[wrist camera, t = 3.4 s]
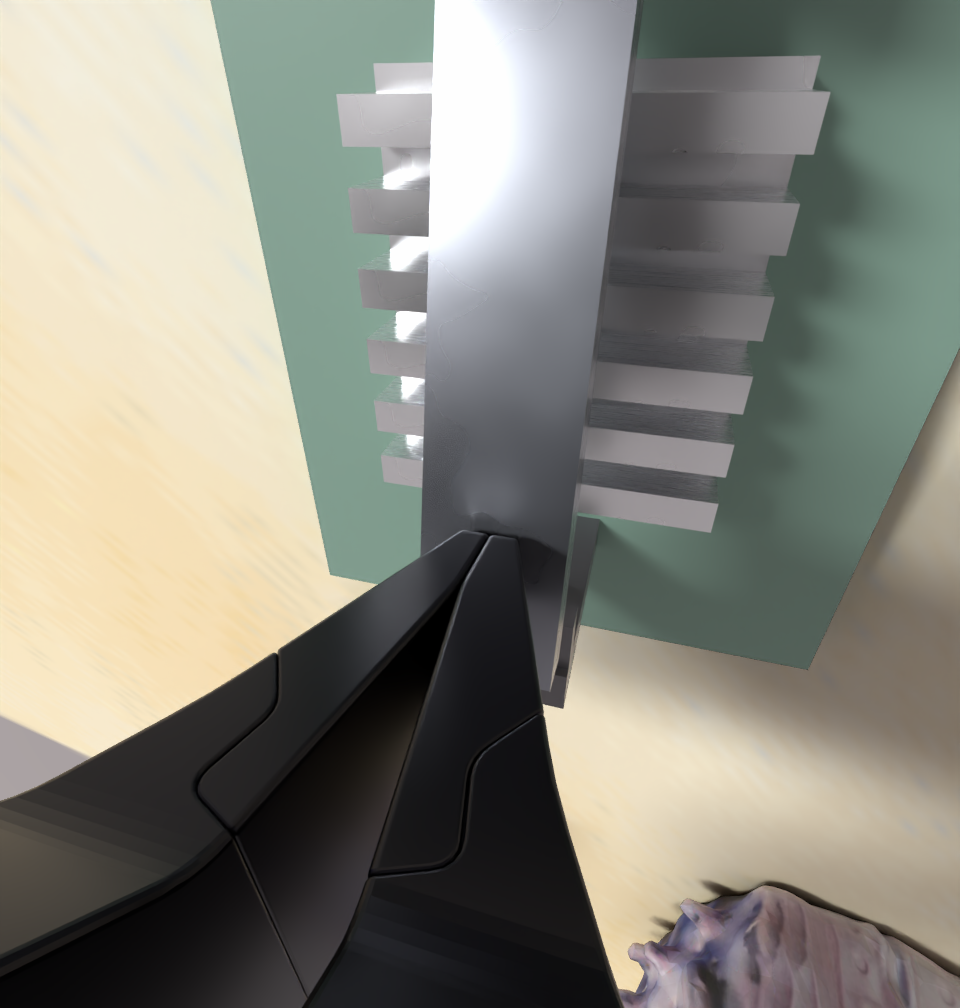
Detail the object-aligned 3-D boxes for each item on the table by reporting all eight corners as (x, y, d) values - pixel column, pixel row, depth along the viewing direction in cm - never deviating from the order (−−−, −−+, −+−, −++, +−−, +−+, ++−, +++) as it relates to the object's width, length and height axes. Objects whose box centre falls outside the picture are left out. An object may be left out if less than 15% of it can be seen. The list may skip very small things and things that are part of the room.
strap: (448, -403, 6) (417, -506, 5) (737, -463, 6) (751, -592, 5) (420, 628, 11) (400, 657, 10) (576, 662, 10) (569, 695, 9)
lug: (604, 481, 15) (571, 635, 11) (595, 547, 17) (563, 708, 12) (513, 468, 16) (449, 611, 12) (511, 533, 17) (453, 682, 13)
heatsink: (806, 57, 10) (841, 52, 7) (704, 471, 14) (706, 548, 12) (405, 64, 11) (332, 62, 9) (430, 434, 16) (386, 496, 14)
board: (1373, -654, 6) (1491, -782, 5) (802, 638, 18) (808, 669, 17) (175, -388, 10) (120, -435, 9) (346, 552, 21) (329, 574, 20)
